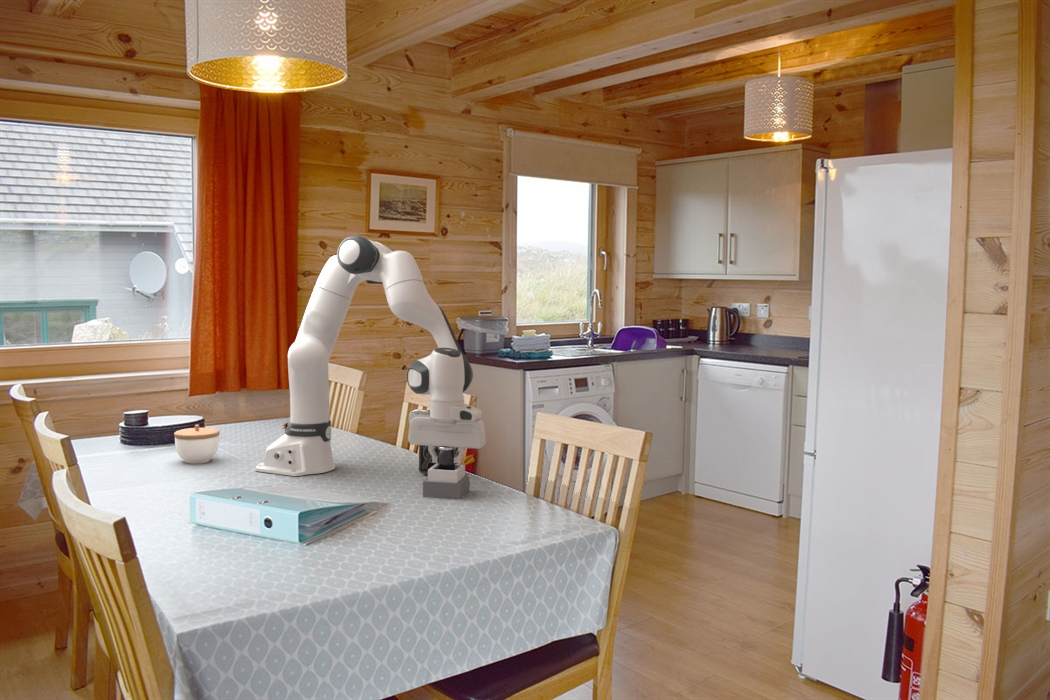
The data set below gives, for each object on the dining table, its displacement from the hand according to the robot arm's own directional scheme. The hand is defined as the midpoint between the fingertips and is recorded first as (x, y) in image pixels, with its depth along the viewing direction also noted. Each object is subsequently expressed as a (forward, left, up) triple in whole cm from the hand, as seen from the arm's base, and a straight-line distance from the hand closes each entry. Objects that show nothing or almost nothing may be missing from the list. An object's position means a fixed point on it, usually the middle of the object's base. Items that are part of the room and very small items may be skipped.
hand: (446, 463), depth 209 cm
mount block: (0, 0, -8) cm, 8 cm away
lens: (0, 0, -2) cm, 2 cm away
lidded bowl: (-83, +17, -8) cm, 85 cm away
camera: (-8, +21, -8) cm, 24 cm away
